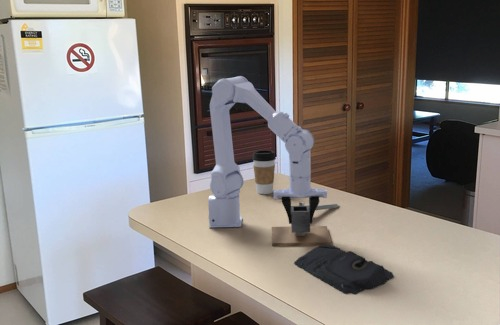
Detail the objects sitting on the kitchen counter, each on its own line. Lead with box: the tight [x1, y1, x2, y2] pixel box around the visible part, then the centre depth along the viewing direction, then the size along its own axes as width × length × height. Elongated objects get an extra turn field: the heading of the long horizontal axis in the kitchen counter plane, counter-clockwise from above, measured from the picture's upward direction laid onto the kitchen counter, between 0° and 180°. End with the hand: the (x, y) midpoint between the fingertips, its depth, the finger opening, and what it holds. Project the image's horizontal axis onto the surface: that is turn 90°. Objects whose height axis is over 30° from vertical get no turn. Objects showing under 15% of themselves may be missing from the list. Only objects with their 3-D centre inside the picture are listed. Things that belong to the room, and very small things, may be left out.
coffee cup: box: [252, 149, 277, 195], centre depth 187 cm, size 8×8×15 cm
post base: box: [271, 225, 332, 247], centre depth 147 cm, size 16×12×5 cm
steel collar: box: [290, 205, 311, 233], centre depth 146 cm, size 5×5×6 cm
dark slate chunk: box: [293, 244, 394, 295], centre depth 126 cm, size 15×22×5 cm
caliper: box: [298, 201, 340, 211], centre depth 165 cm, size 20×1×6 cm, turn 134°
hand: (300, 222), depth 146 cm, fingers closed on steel collar, 5 cm apart
